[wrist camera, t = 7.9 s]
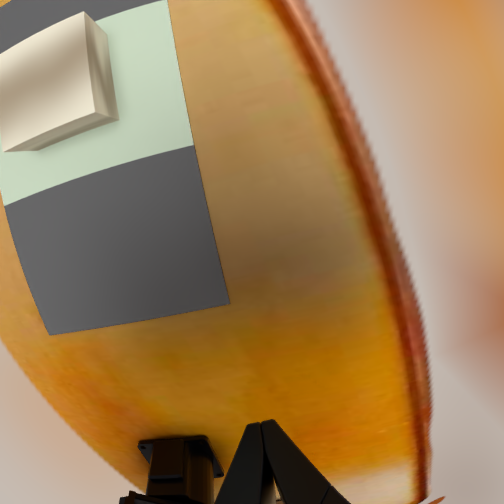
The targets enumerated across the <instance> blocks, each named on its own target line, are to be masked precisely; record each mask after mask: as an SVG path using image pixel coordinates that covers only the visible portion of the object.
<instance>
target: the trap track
mask: <svg viewBox="0 0 504 504" xmlns="http://www.w3.org/2000/svg"><path fill="white" fill-rule="evenodd" d="M83 11H84V12H85V13H86V14H87V15H88V16H89V17H90V18H91V19H92V20H93V21H94V22H95V23H96V24H97V25H98V26H99V27H100V28H101V29H102V30H103V31H104V32H105V33H106V34H107V38H108V47H109V55H110V63H111V70H112V77H113V84H114V90H115V96H116V102H117V108H118V114H119V119H120V120H118V121H115V122H112V123H109V124H106V125H103V126H100V127H97V128H95V129H92V130H89V131H86V132H83V133H81V134H78V135H75V136H73V137H70V138H68V139H65V140H63V141H60V142H58V143H55V144H53V145H50V146H48V147H46V148H43V149H41V150H39V151H19V152H3V149H2V143H1V135H0V190H1V195H2V199H3V203H4V207H5V212H6V216H7V219H8V223H9V227H10V230H11V234H12V237H13V241H14V244H15V247H16V251H17V254H18V257H19V260H20V263H21V266H22V269H23V272H24V274H25V277H26V280H27V283H28V285H29V288H30V291H31V293H32V296H33V298H34V301H35V303H36V306H37V308H38V311H39V313H40V315H41V318H42V320H43V322H44V324H45V327H46V329H47V331H48V333H49V335H56V334H63V333H70V332H76V331H83V330H89V329H96V328H102V327H108V326H114V325H120V324H126V323H132V322H138V321H143V320H149V319H154V318H160V317H165V316H171V315H176V314H181V313H187V312H192V311H197V310H202V309H207V308H212V307H217V306H222V305H227V304H230V302H229V298H228V293H227V289H226V285H225V281H224V277H223V273H222V269H221V264H220V260H219V256H218V252H217V247H216V243H215V239H214V234H213V230H212V226H211V221H210V217H209V212H208V208H207V203H206V199H205V194H204V190H203V185H202V180H201V176H200V171H199V166H198V162H197V157H196V152H195V147H194V143H193V138H192V133H191V128H190V123H189V118H188V113H187V108H186V102H185V97H184V92H183V87H182V82H181V76H180V71H179V65H178V60H177V54H176V49H175V43H174V37H173V32H172V26H171V20H170V14H169V8H168V2H167V0H11V1H10V2H8V3H7V4H5V5H3V6H2V7H0V54H1V53H3V52H5V51H6V50H8V49H9V48H11V47H13V46H15V45H16V44H18V43H20V42H21V41H23V40H25V39H27V38H29V37H30V36H32V35H34V34H36V33H38V32H40V31H42V30H44V29H46V28H48V27H50V26H52V25H54V24H56V23H58V22H60V21H62V20H65V19H67V18H69V17H71V16H74V15H76V14H78V13H81V12H83Z"/></svg>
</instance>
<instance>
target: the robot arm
mask: <svg viewBox="0 0 504 504" xmlns="http://www.w3.org/2000/svg"><path fill="white" fill-rule="evenodd" d="M138 448H139V450H140V451H141V453H142V454H143V456H144V457H145V459H146V460H147V461H148V463H149V464H150V467H149V473H148V482H147V489H146V495H142V494H138V493H136V492H134V491H129V496H126V497H121V498H120V501H119V504H276V495H275V483H276V486H277V489H278V491H279V494H280V497H281V499H282V502H283V504H351V503H349V502H348V501H347V500H346V499H345V498H344V497H343V496H342V495H341V494H340V493H339V492H338V491H337V490H336V489H335V488H334V487H333V486H331V484H330V483H329V482H328V480H327V479H326V478H325V477H324V476H323V475H322V474H321V473H320V472H319V471H318V470H317V468H316V467H315V466H314V465H313V464H312V463H311V462H310V461H309V460H308V458H307V457H306V456H305V455H304V454H303V453H302V452H301V450H300V449H299V448H298V447H297V446H296V445H295V444H294V442H293V441H292V440H291V439H290V438H289V436H288V435H287V434H286V433H285V432H284V431H283V429H282V428H281V427H280V426H279V425H278V423H277V422H276V421H275V420H274V419H270V420H265V421H262V422H261V423H260V422H255V423H250V424H248V425H247V426H246V428H245V431H244V433H243V436H242V438H241V441H240V443H239V446H238V448H237V450H236V453H235V455H234V458H233V460H232V463H231V465H230V467H229V470H228V472H227V475H226V477H225V479H224V482H223V484H222V486H221V489H220V491H219V493H218V496H217V498H216V500H215V502H214V478H219V477H223V476H224V470H223V468H222V466H221V464H220V462H219V460H218V458H217V456H216V454H215V452H214V450H213V448H212V446H211V444H210V442H209V440H208V438H207V437H205V436H195V437H186V438H176V439H165V440H151V441H140V442H139V443H138ZM274 480H275V483H274Z"/></svg>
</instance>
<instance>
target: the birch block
mask: <svg viewBox="0 0 504 504" xmlns="http://www.w3.org/2000/svg"><path fill="white" fill-rule="evenodd" d="M118 120H120V119H119V114H118V108H117V102H116V96H115V90H114V84H113V77H112V70H111V63H110V55H109V47H108V38H107V34H106V33H105V32H104V31H103V30H102V29H101V28H100V27H99V26H98V25H97V24H96V23H95V22H94V21H93V20H92V19H91V18H90V17H89V16H88V15H87V14H86V13H85V12H84V11H83V12H81V13H78V14H76V15H74V16H71V17H69V18H67V19H65V20H62V21H60V22H58V23H56V24H54V25H52V26H50V27H48V28H46V29H44V30H42V31H40V32H38V33H36V34H34V35H32V36H30V37H29V38H27V39H25V40H23V41H21V42H20V43H18V44H16V45H15V46H13V47H11V48H9V49H8V50H6V51H5V52H3V53H1V54H0V135H1V143H2V149H3V152H19V151H39V150H41V149H43V148H46V147H48V146H50V145H53V144H55V143H58V142H60V141H63V140H65V139H68V138H70V137H73V136H75V135H78V134H81V133H83V132H86V131H89V130H92V129H95V128H97V127H100V126H103V125H106V124H109V123H112V122H115V121H118Z"/></svg>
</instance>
